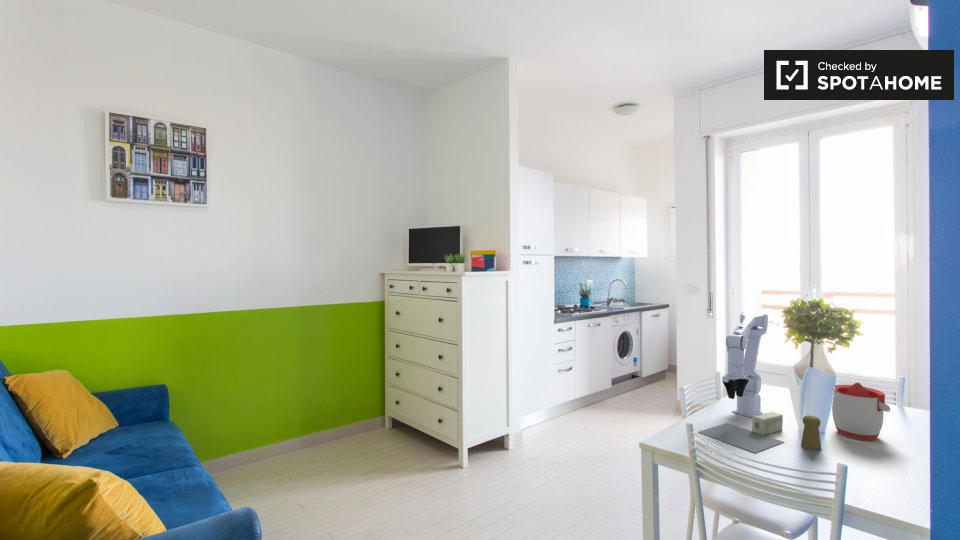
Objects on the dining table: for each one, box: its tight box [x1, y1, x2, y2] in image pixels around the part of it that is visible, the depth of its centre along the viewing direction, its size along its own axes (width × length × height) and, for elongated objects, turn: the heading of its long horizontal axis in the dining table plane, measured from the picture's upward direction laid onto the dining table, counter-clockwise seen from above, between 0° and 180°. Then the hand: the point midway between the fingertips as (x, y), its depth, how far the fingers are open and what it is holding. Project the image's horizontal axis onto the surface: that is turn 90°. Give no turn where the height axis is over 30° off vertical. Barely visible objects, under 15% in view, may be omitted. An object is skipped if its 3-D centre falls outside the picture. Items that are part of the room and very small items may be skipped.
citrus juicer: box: [831, 382, 891, 441], centre depth 176 cm, size 16×17×20 cm
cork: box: [800, 415, 822, 451], centre depth 167 cm, size 6×6×11 cm
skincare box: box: [751, 411, 784, 435], centre depth 182 cm, size 6×4×12 cm
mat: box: [698, 422, 785, 455], centre depth 177 cm, size 18×22×1 cm
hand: (735, 397), depth 191 cm, fingers open, 5 cm apart
